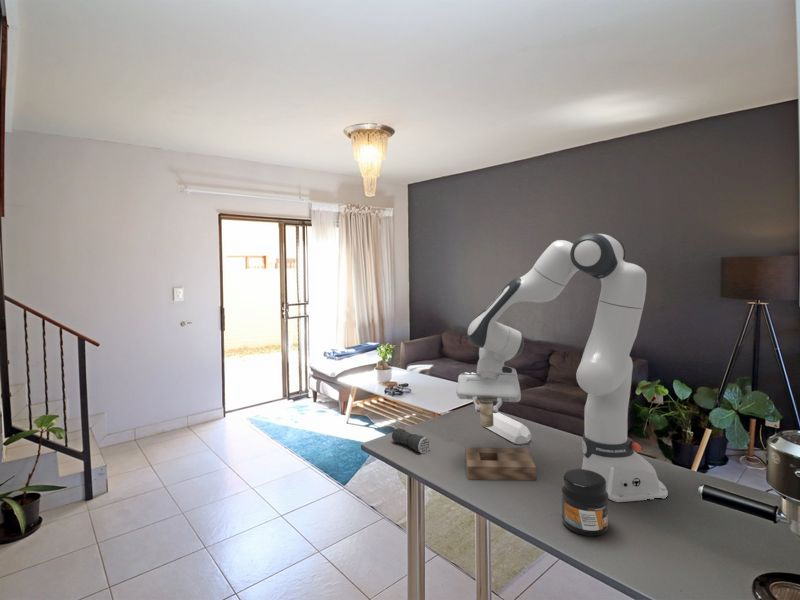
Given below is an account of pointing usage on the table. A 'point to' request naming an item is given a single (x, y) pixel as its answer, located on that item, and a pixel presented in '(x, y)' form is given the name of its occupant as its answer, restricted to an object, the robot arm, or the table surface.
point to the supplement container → (585, 502)
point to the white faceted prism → (510, 429)
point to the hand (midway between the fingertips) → (486, 411)
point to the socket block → (499, 463)
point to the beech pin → (486, 412)
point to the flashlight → (411, 440)
